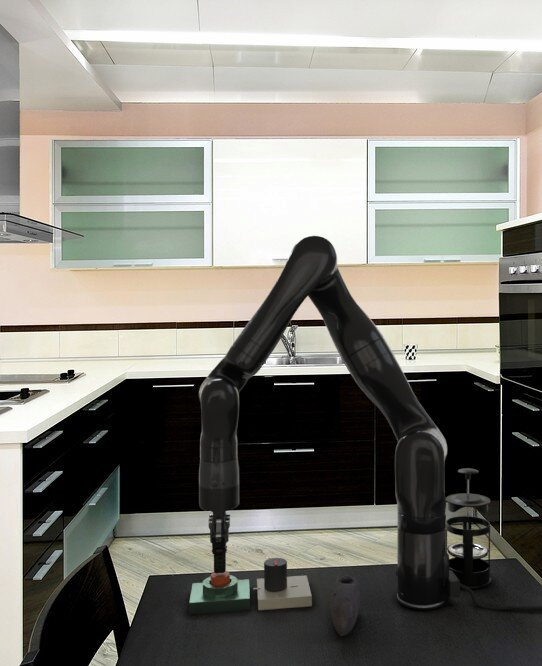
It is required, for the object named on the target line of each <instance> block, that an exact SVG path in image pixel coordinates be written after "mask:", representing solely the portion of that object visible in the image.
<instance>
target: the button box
mask: <svg viewBox="0 0 542 666" xmlns="http://www.w3.org/2000/svg"><path fill="white" fill-rule="evenodd" d="M250 589H251V588H250V579H248V578H247V579H238V577H236V576H234V575H231V574H230V583H229V584H227V585H223V586H214V585H211V576H208V577H207V578H204V580H202V582H192V584H191V590H190V595H189V601H188V609H189V610H188V612H189V613H188V614H189V615H199V614H212V613H224V612H225V613H226V612H237V611H250V610H251V591H250Z"/></svg>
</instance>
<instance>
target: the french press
mask: <svg viewBox="0 0 542 666" xmlns="http://www.w3.org/2000/svg"><path fill="white" fill-rule="evenodd" d="M457 473H459V474H462V475H465V480H466V493H465V492H464V493H463V492H462V493H454V494H453V493H452V494H450V495H448V496H445V498H446V503H447V510H448V511H449V512H451V513H456V512H458V511H459V510H461V509H464V508H466V514H462V515H459V516H453V517H449V518H446V552H447V553H448V554H449V556H452V557H451V558H449V570H451V571H452V572H453V573H454V574H455V576H456V577H457V578H458V579H459V581H460V584H463V585H465V586H467V587H468V588H470V589H471V590H472V591H474V590H481V589H485V588H487V587H489V586H490V585H491V583H492V578H491V523H490V521H489V520H487V519H486V518H483V517H478V516H472V515H471V514H470V508H473V509H475V510H476V511H477V512H480V513H481V514H487V513H488V512H489V504H490V503H491V499H490V498H489V497H488V496H485V495H483V494H482V495H481V494H477V493H470V480H471V475H477V474H478V473H479V470H477V469H475V468H469V467H467V468H466V467H465V468H460V469H458V470H457ZM460 523H462V528H459V527H455V526H452V525H453V524H460ZM472 524H477V525H481V526H484V527H483V528H476V529H472ZM448 532H449V533H451V534H453V535H456V536H461V537H462V542H455V543H452V544H450V545H448ZM485 535H488V539H487V540H488V541H487V542H488V543H487V545H488V548H487V546H484V545H483V544H479V543H474V537H481V536H485ZM487 556H488V557H487ZM486 557H487V559H488V561H487V560H485V559H484V558H486ZM460 590H463V589H462V588H460Z"/></svg>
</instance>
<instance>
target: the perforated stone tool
mask: <svg viewBox="0 0 542 666" xmlns="http://www.w3.org/2000/svg"><path fill="white" fill-rule="evenodd" d="M359 587H360V583H359V580H358V577H357V576H356V574H355V573H354V572H351V571H346V570H345V571H341V572H339V574H338V575H337V577H336V579H335V581H334V584H333V587H332V591H331V595H330V616H331V621H332V624H333V627H334V629H335V631H336V633H337V634H338V635H339V636H340V637H345V636H347V635H348V634H350V632H351V631H352V630H353V629H354V626H355V624H356V622H357V619H358V616H359V611H360V602H361V593H360V591H359V589H360V588H359Z"/></svg>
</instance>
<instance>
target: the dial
mask: <svg viewBox="0 0 542 666" xmlns="http://www.w3.org/2000/svg"><path fill="white" fill-rule="evenodd" d="M287 577H288V561H287V560H286V559H285V558H282V557H272V558H268V559H266V560H264V562H263V578H264V589H265V590H267V591H270V592H279V591H283V590H285V589H286V588H287Z"/></svg>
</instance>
